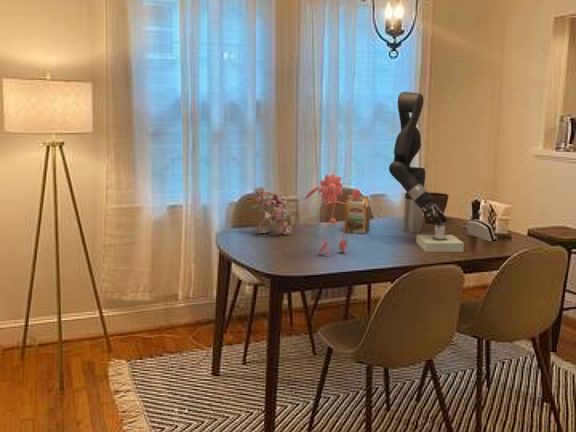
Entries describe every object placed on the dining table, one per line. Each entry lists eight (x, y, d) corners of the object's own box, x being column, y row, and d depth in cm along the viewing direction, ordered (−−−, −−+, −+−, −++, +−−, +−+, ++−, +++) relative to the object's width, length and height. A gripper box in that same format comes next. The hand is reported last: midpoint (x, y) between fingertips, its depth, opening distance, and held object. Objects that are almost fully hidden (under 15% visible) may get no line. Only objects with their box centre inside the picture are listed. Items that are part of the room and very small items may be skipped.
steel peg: (432, 246, 275) (433, 221, 272) (442, 246, 275) (443, 221, 273) (435, 248, 270) (436, 223, 268) (445, 248, 270) (446, 223, 268)
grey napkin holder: (498, 240, 287) (494, 222, 284) (490, 244, 286) (486, 226, 283) (475, 233, 303) (471, 215, 300) (468, 237, 301) (464, 219, 298)
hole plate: (416, 242, 281) (416, 234, 280) (451, 242, 282) (452, 234, 281) (425, 251, 264) (426, 243, 263) (463, 251, 265) (464, 243, 264)
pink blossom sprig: (363, 252, 261) (364, 173, 255) (312, 259, 249) (313, 177, 243) (344, 246, 275) (345, 171, 269) (295, 252, 263) (295, 173, 257)
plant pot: (441, 220, 336) (443, 192, 333) (450, 225, 322) (452, 196, 318) (416, 220, 335) (417, 192, 332) (423, 225, 321) (425, 196, 318)
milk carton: (344, 233, 301) (345, 196, 297) (349, 229, 310) (350, 193, 307) (365, 234, 297) (366, 197, 294) (369, 230, 307) (370, 194, 304)
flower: (262, 239, 278) (284, 191, 279) (234, 226, 294) (254, 181, 295) (290, 251, 292) (310, 204, 293) (262, 238, 308) (281, 194, 309)
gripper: (420, 192, 266) (443, 220, 262) (431, 188, 278) (453, 215, 274) (408, 203, 270) (431, 230, 266) (419, 198, 282) (441, 225, 278)
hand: (442, 222), depth 270 cm, fingers open, 8 cm apart
